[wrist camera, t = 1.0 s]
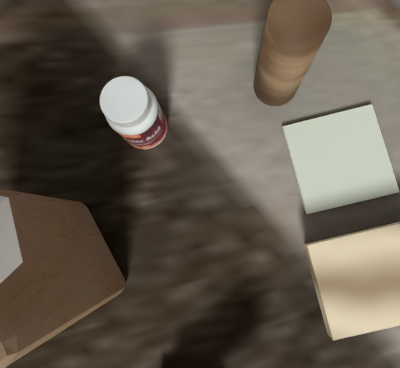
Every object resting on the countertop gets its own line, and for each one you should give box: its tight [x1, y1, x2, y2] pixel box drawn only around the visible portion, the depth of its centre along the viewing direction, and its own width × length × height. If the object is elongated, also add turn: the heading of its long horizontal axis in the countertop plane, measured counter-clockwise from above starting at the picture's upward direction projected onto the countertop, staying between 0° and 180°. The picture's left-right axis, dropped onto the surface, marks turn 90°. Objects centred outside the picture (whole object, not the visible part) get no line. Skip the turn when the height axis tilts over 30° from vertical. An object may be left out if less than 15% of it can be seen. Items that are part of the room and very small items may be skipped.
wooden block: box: [0, 189, 125, 368], centre depth 26 cm, size 10×10×20 cm
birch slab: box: [303, 222, 400, 340], centre depth 32 cm, size 8×12×4 cm, turn 103°
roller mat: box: [282, 104, 400, 214], centre depth 35 cm, size 9×9×1 cm
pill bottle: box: [100, 76, 167, 149], centre depth 33 cm, size 5×5×8 cm
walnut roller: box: [254, 0, 332, 106], centre depth 31 cm, size 4×4×12 cm
